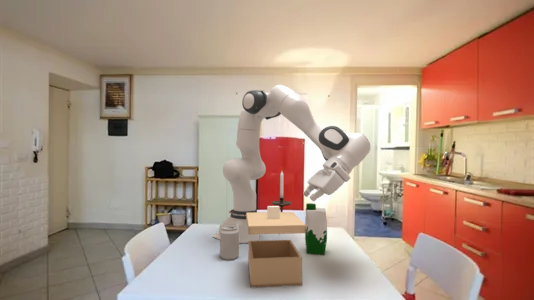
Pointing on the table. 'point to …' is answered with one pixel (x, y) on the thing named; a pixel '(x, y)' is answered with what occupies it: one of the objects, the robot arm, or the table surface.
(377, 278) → the table surface
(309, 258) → the table surface
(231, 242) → the can
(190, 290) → the table surface
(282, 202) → the candlestick
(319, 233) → the milk carton
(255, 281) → the carton
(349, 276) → the table surface
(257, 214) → the carton lid
